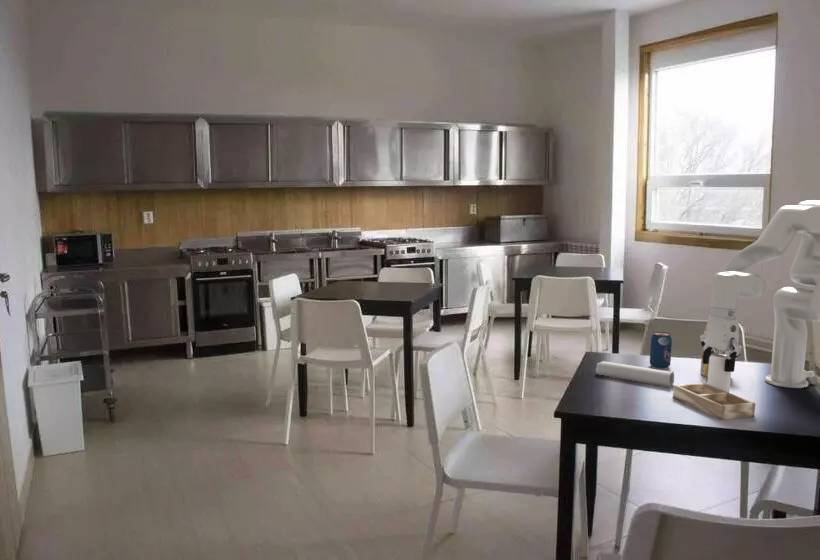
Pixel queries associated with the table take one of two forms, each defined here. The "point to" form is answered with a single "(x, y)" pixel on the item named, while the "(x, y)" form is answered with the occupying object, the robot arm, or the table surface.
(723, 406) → the slot rack
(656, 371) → the tube
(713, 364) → the can
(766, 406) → the table surface
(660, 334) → the soda can
